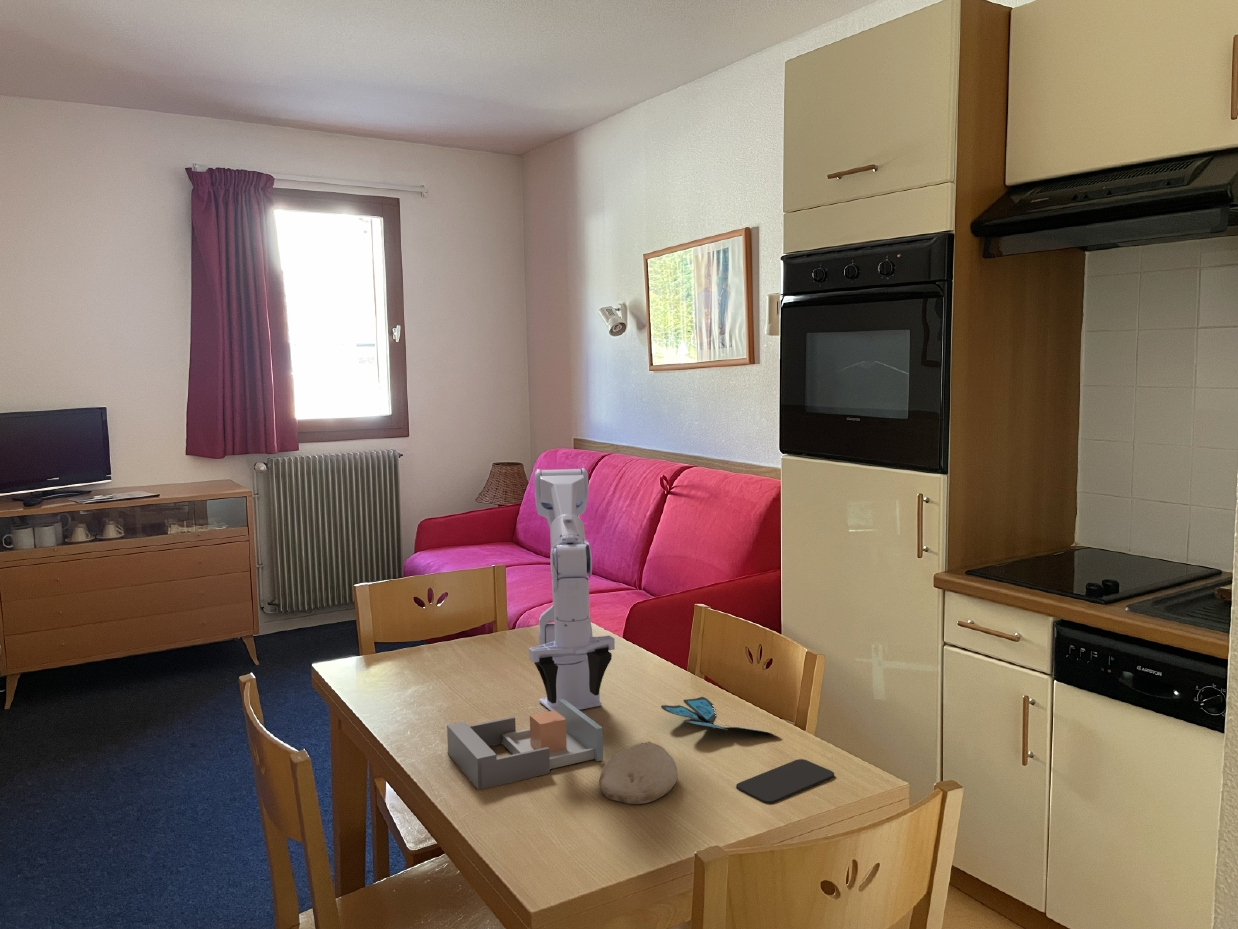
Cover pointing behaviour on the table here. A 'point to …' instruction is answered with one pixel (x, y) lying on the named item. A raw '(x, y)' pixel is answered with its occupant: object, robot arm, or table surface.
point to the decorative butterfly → (700, 707)
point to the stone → (638, 774)
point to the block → (548, 731)
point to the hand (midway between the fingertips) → (573, 697)
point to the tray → (579, 735)
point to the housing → (492, 754)
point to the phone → (785, 781)
